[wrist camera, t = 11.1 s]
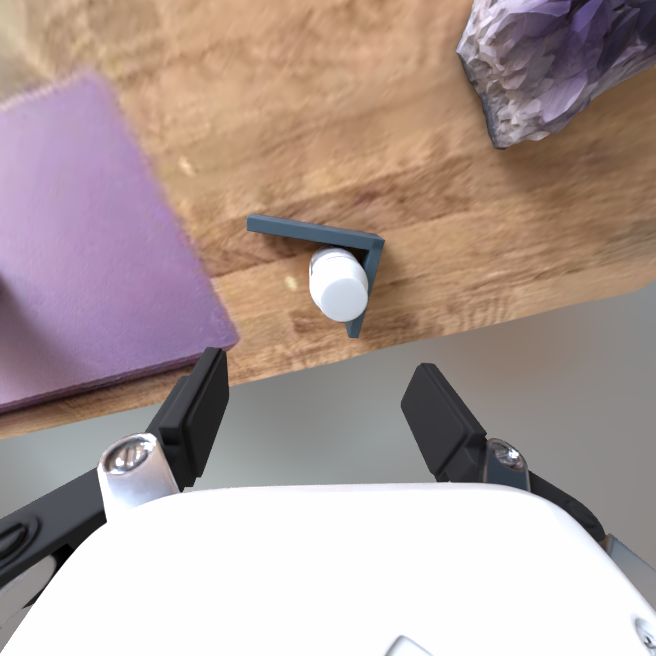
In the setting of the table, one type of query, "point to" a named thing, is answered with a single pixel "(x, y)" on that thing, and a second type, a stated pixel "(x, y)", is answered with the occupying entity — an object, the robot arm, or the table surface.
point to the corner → (329, 235)
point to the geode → (551, 59)
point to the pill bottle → (338, 283)
